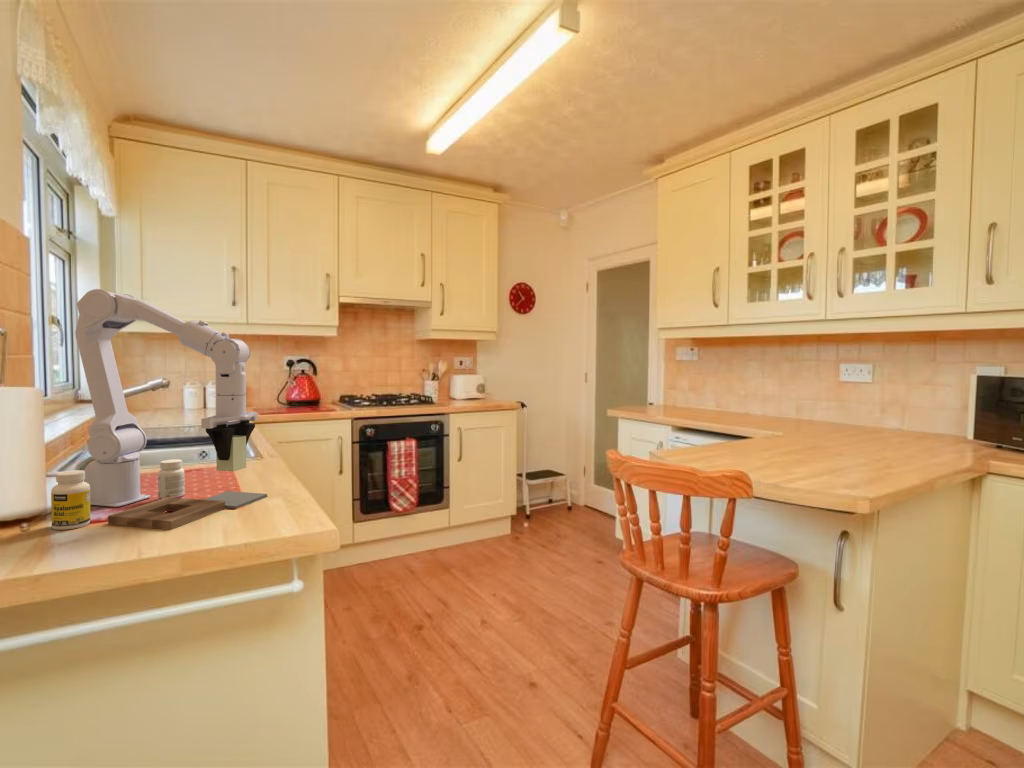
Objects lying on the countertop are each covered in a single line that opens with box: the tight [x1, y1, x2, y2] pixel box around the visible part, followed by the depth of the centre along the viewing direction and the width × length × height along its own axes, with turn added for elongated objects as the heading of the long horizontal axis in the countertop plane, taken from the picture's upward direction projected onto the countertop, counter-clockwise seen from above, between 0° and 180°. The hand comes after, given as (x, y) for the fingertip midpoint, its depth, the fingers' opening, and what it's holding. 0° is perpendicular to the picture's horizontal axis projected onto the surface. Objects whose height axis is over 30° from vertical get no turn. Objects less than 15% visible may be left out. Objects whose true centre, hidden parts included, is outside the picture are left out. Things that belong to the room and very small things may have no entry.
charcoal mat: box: [202, 490, 268, 510], centre depth 112 cm, size 10×10×1 cm
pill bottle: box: [157, 458, 186, 500], centre depth 112 cm, size 5×5×8 cm
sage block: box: [215, 435, 247, 473], centre depth 112 cm, size 4×4×7 cm
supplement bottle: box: [50, 469, 91, 531], centre depth 94 cm, size 5×5×10 cm
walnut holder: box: [107, 497, 226, 530], centre depth 101 cm, size 13×13×2 cm
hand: (231, 457), depth 112 cm, fingers closed on sage block, 4 cm apart
